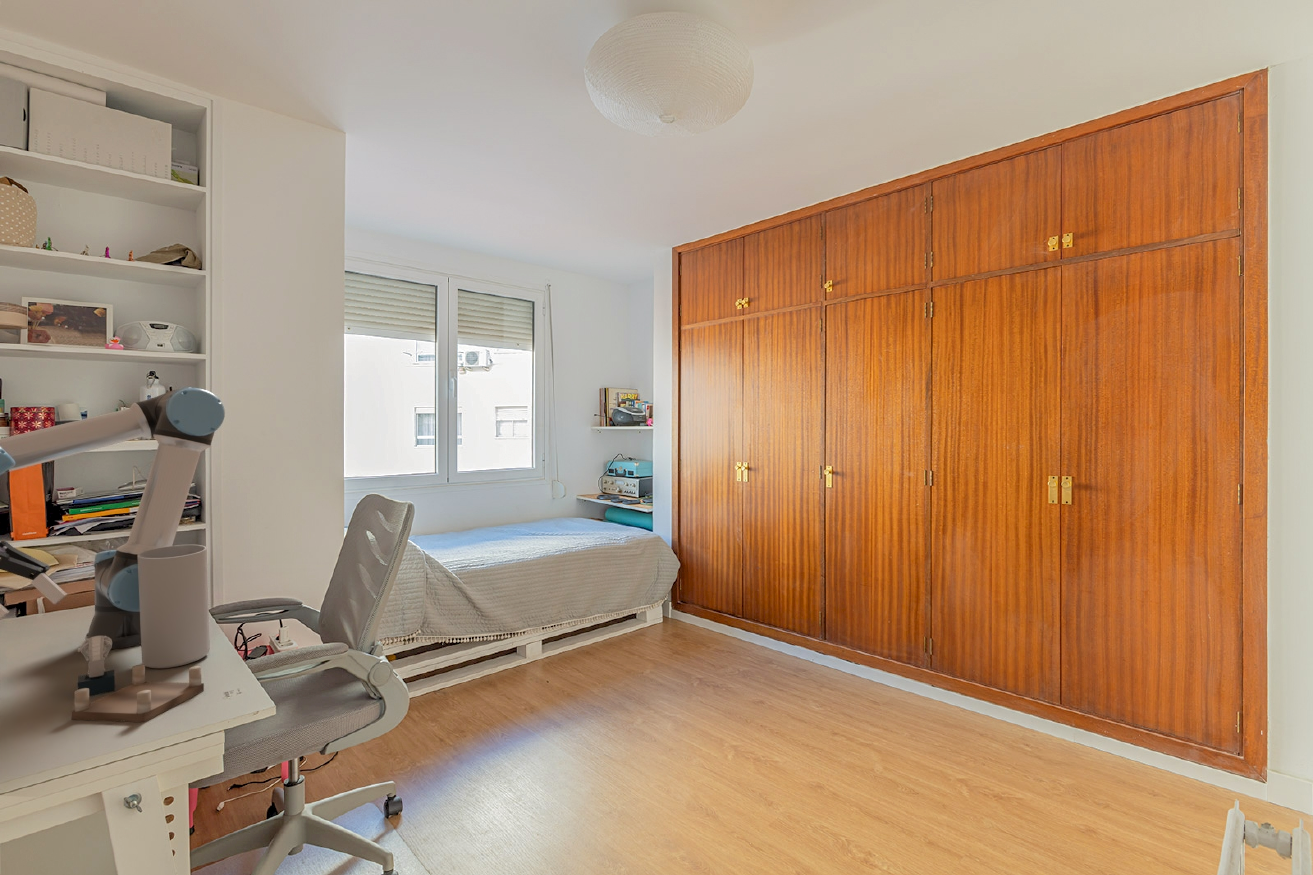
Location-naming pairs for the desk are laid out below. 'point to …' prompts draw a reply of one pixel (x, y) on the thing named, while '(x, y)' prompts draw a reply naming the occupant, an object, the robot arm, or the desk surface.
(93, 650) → the watch
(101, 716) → the peg base
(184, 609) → the cylinder vase
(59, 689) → the desk surface
